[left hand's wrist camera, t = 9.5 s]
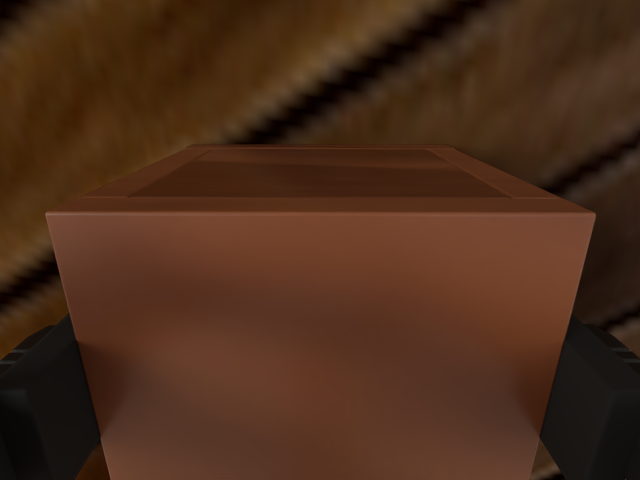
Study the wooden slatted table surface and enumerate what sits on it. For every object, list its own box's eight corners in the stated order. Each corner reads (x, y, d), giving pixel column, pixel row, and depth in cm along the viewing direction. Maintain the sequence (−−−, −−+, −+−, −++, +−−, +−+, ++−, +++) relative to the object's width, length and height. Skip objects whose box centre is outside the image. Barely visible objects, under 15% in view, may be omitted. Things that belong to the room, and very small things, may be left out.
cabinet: (410, 480, 23) (467, 728, 14) (228, 480, 23) (170, 728, 14) (447, 144, 16) (600, 212, 7) (192, 144, 16) (41, 211, 7)
